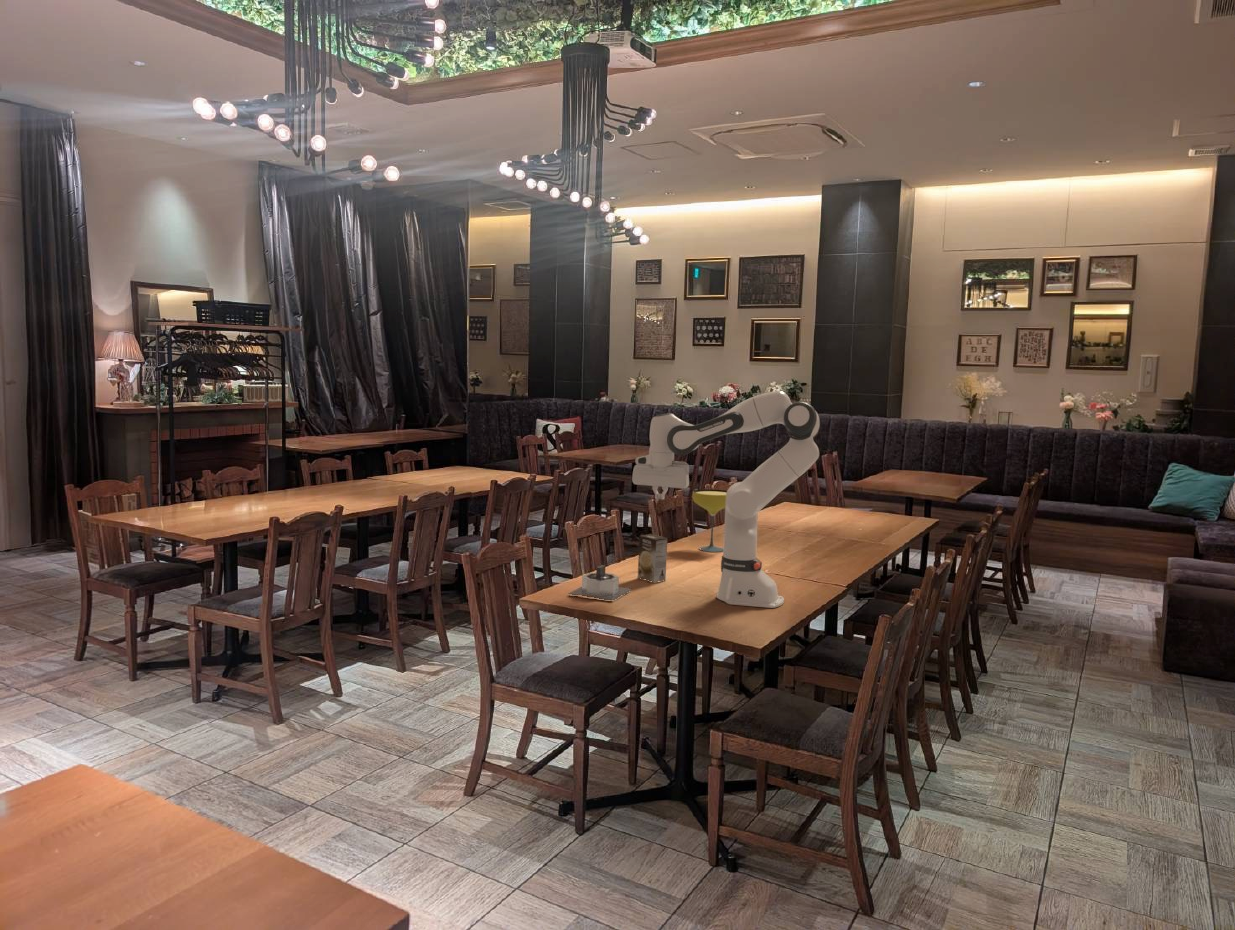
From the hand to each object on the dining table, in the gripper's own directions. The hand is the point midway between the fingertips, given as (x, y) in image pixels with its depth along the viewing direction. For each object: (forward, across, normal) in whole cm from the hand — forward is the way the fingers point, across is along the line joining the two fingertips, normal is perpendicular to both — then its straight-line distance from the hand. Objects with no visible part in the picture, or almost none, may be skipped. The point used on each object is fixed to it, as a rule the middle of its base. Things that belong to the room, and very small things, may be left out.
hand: (659, 499), depth 306 cm
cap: (+27, +13, +20) cm, 36 cm away
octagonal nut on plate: (+31, +13, +20) cm, 39 cm away
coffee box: (+31, +5, -8) cm, 33 cm away
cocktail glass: (+31, +2, -72) cm, 79 cm away
